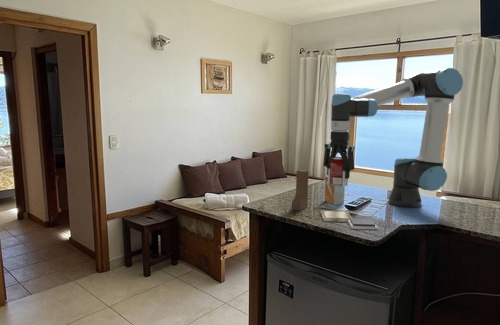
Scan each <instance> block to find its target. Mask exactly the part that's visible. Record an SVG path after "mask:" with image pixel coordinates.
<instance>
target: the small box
mask: <svg viewBox="0 0 500 325" xmlns="http://www.w3.org/2000/svg"><path fill="white" fill-rule="evenodd" d="M324 180H325V182H324V201H325V202H326V203H328V204H332V205H334V206H335V205H336V206H337V205H342V204H344V203H345V188H346V186H332V185H331V184H330V183H328V175H325V179H324Z"/></svg>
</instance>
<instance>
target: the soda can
mask: <svg viewBox="0 0 500 325" xmlns="http://www.w3.org/2000/svg"><path fill="white" fill-rule="evenodd" d="M344 170H345V169H344V165H343V161H342V157H341V156H336V157H335V158H333V157H332V160H331V161H330V184H331V185H332V186H342V182H343V171H344Z"/></svg>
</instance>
